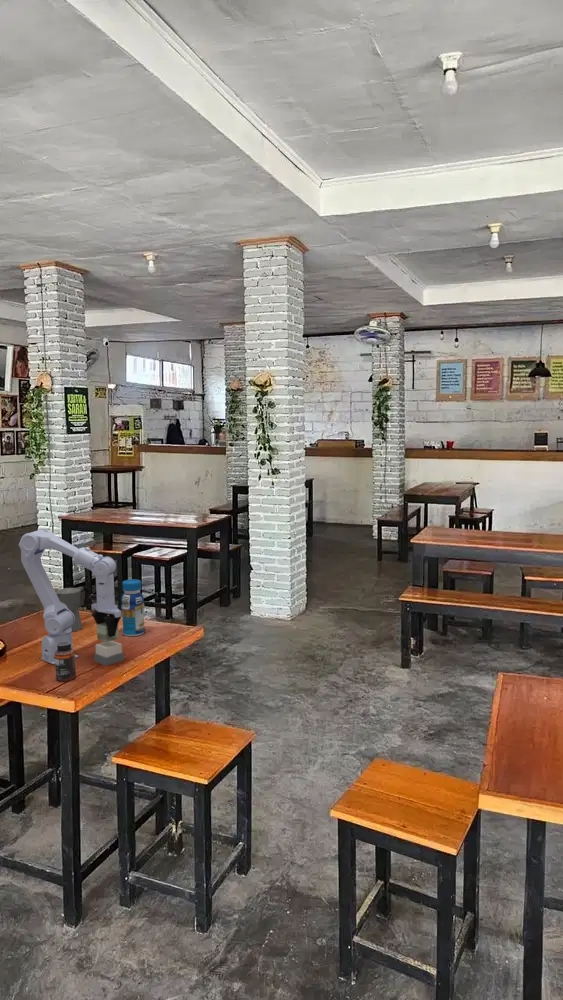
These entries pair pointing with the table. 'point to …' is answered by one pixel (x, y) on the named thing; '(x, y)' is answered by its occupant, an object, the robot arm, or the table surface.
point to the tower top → (108, 648)
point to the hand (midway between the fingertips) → (107, 634)
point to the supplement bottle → (65, 662)
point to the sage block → (105, 633)
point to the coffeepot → (73, 602)
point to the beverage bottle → (132, 608)
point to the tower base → (109, 659)
